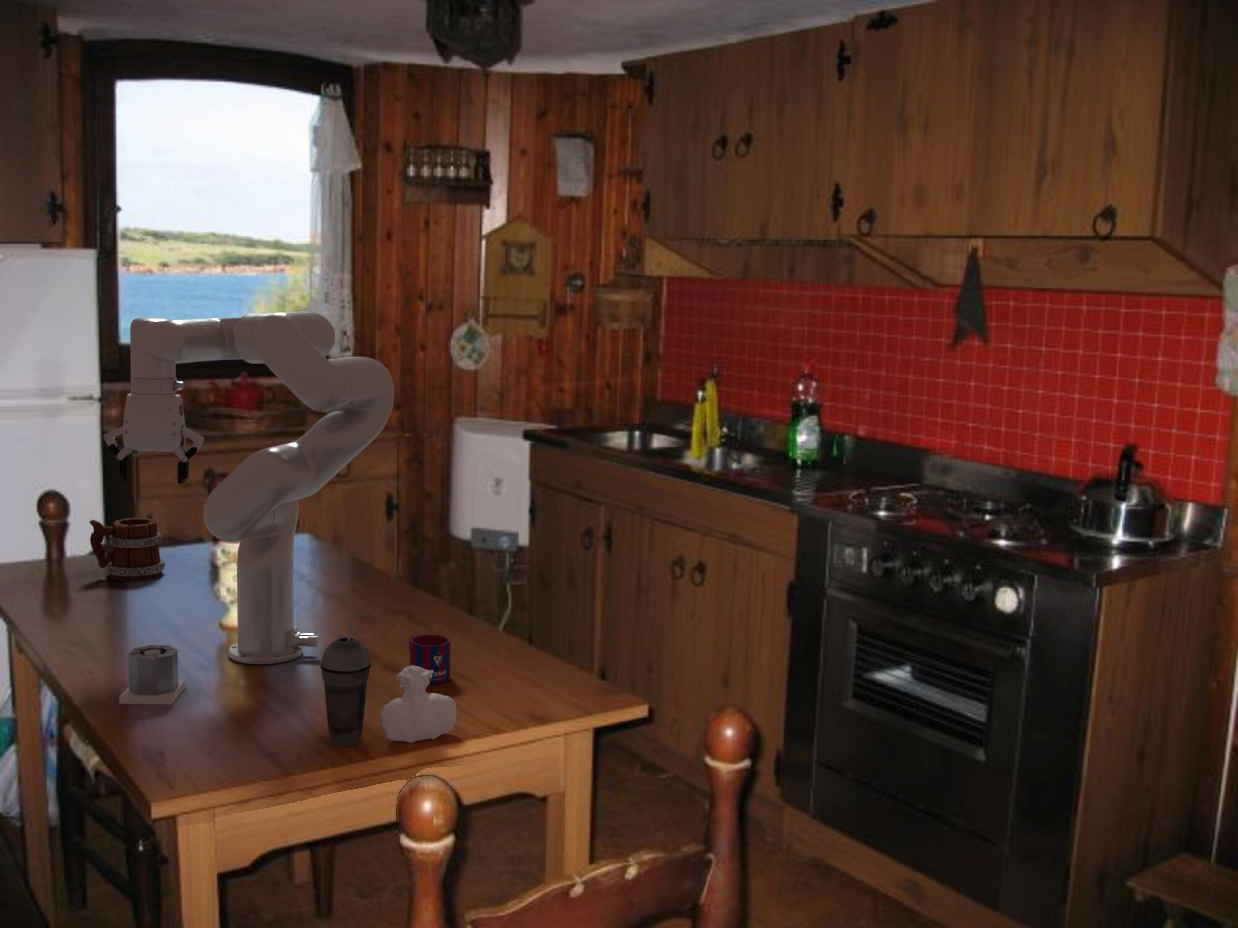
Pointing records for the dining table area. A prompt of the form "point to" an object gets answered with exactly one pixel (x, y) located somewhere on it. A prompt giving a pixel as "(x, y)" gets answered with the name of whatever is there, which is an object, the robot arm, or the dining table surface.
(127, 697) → the shaft block
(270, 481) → the robot arm
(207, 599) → the dining table surface
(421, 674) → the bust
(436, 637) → the cup
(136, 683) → the ring
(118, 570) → the mug
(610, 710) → the dining table surface
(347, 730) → the beverage cup
